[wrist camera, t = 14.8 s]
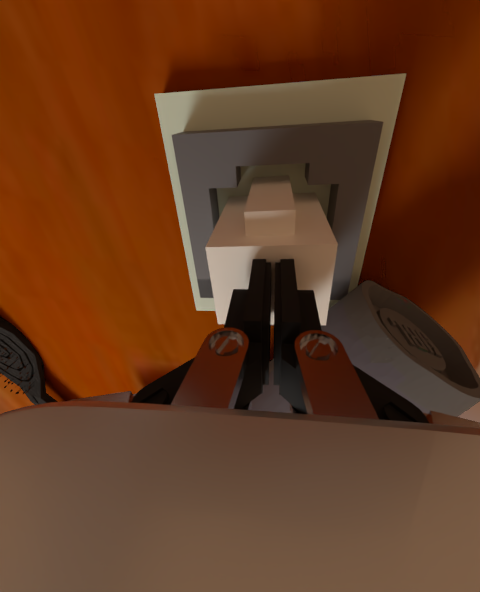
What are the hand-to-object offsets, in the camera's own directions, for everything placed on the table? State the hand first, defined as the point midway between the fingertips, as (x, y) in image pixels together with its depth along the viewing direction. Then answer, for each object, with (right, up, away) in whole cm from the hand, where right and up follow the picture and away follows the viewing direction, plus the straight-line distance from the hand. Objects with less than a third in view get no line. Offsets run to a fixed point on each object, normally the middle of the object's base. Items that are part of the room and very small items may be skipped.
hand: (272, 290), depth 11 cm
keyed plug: (+1, +4, +6) cm, 7 cm away
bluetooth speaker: (+3, -6, +14) cm, 16 cm away
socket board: (+1, +5, +7) cm, 8 cm away
